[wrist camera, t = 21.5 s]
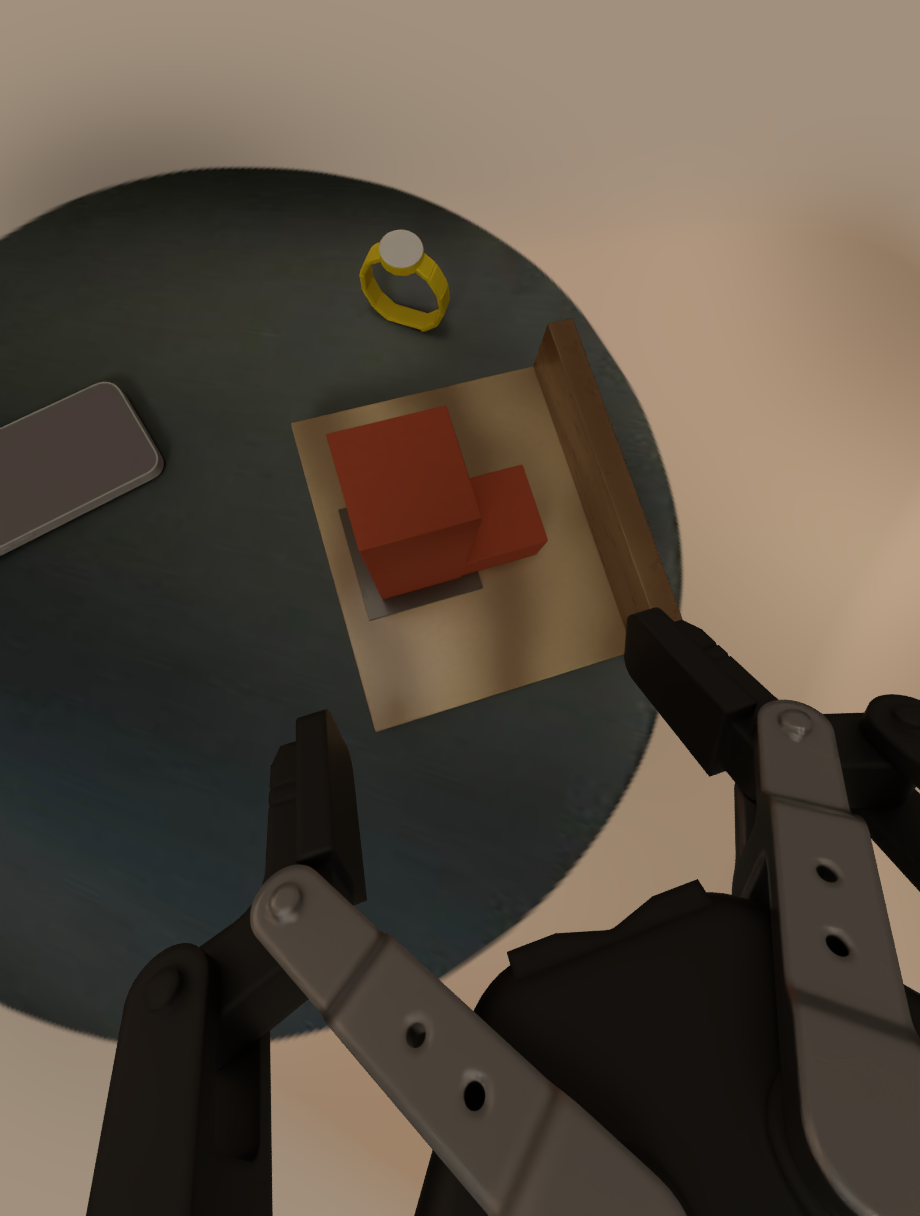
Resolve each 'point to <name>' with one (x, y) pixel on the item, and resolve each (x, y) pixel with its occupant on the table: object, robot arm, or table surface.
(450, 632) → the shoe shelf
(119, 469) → the smartphone
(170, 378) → the table surface
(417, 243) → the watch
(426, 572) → the boot
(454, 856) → the table surface
